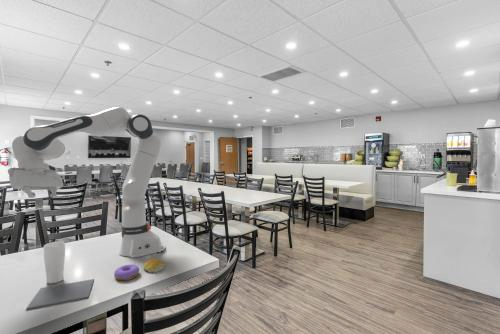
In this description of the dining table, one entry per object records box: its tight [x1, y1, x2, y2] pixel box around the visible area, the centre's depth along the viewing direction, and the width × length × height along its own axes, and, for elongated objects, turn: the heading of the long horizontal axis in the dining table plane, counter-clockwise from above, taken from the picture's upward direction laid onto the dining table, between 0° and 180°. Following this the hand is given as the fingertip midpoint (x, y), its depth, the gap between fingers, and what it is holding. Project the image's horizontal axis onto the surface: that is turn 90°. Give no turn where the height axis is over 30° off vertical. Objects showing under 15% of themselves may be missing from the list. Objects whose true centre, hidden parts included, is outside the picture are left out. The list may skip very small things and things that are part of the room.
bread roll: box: [143, 258, 166, 274], centre depth 112 cm, size 8×9×4 cm
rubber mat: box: [25, 278, 95, 311], centre depth 91 cm, size 17×14×1 cm
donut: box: [113, 263, 140, 282], centre depth 105 cm, size 10×9×5 cm
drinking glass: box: [43, 240, 66, 285], centre depth 100 cm, size 7×7×15 cm
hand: (43, 197), depth 107 cm, fingers open, 8 cm apart
